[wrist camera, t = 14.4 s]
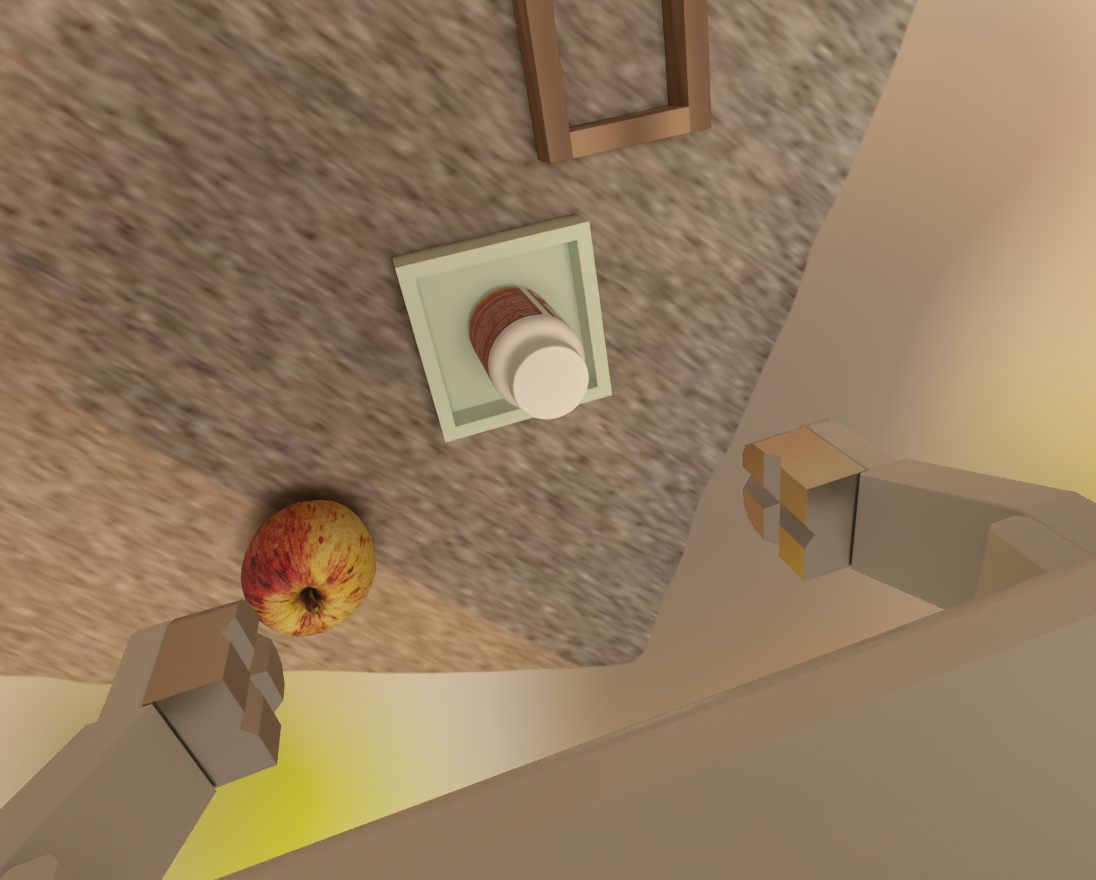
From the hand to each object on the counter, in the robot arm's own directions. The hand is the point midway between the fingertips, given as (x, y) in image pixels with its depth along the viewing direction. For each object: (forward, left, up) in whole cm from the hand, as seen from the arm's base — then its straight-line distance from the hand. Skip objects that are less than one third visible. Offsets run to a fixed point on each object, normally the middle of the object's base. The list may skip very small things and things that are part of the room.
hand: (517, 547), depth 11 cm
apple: (-12, -22, -37) cm, 45 cm away
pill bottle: (+6, -10, -37) cm, 39 cm away
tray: (+6, -10, -37) cm, 39 cm away
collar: (+16, +6, -37) cm, 41 cm away
